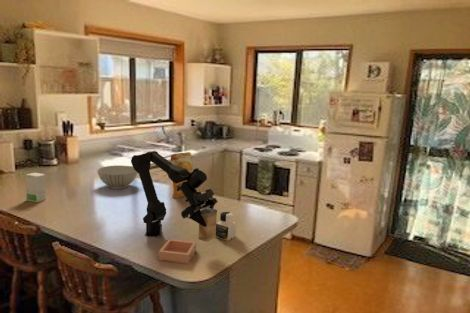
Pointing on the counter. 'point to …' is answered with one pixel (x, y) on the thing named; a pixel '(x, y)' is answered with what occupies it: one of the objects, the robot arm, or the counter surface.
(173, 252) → the pink square tray
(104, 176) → the decorative bowl
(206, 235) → the brown rectangular block
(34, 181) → the skincare box
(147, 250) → the counter surface
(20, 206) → the counter surface
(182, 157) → the pancake mix bag
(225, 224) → the medicine bottle
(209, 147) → the counter surface
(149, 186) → the robot arm
